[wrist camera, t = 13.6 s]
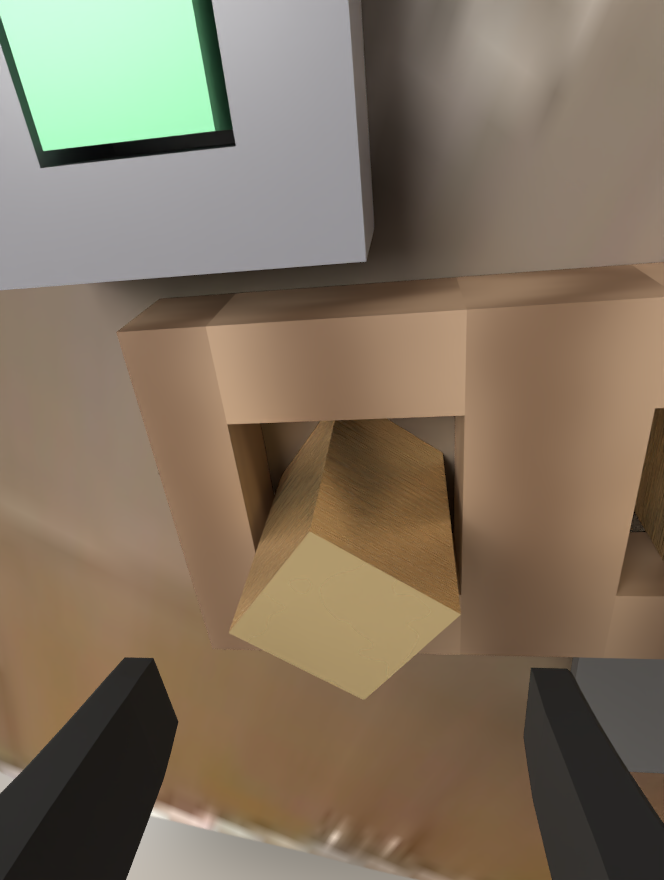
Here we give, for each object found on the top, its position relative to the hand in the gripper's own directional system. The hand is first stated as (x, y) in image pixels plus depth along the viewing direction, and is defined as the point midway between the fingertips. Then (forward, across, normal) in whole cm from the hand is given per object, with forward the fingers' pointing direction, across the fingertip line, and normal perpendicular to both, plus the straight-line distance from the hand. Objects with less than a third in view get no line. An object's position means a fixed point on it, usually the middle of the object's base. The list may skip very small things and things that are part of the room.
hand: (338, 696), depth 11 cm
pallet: (+9, -5, +1) cm, 11 cm away
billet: (+9, 0, +1) cm, 9 cm away
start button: (+8, +4, -11) cm, 15 cm away
